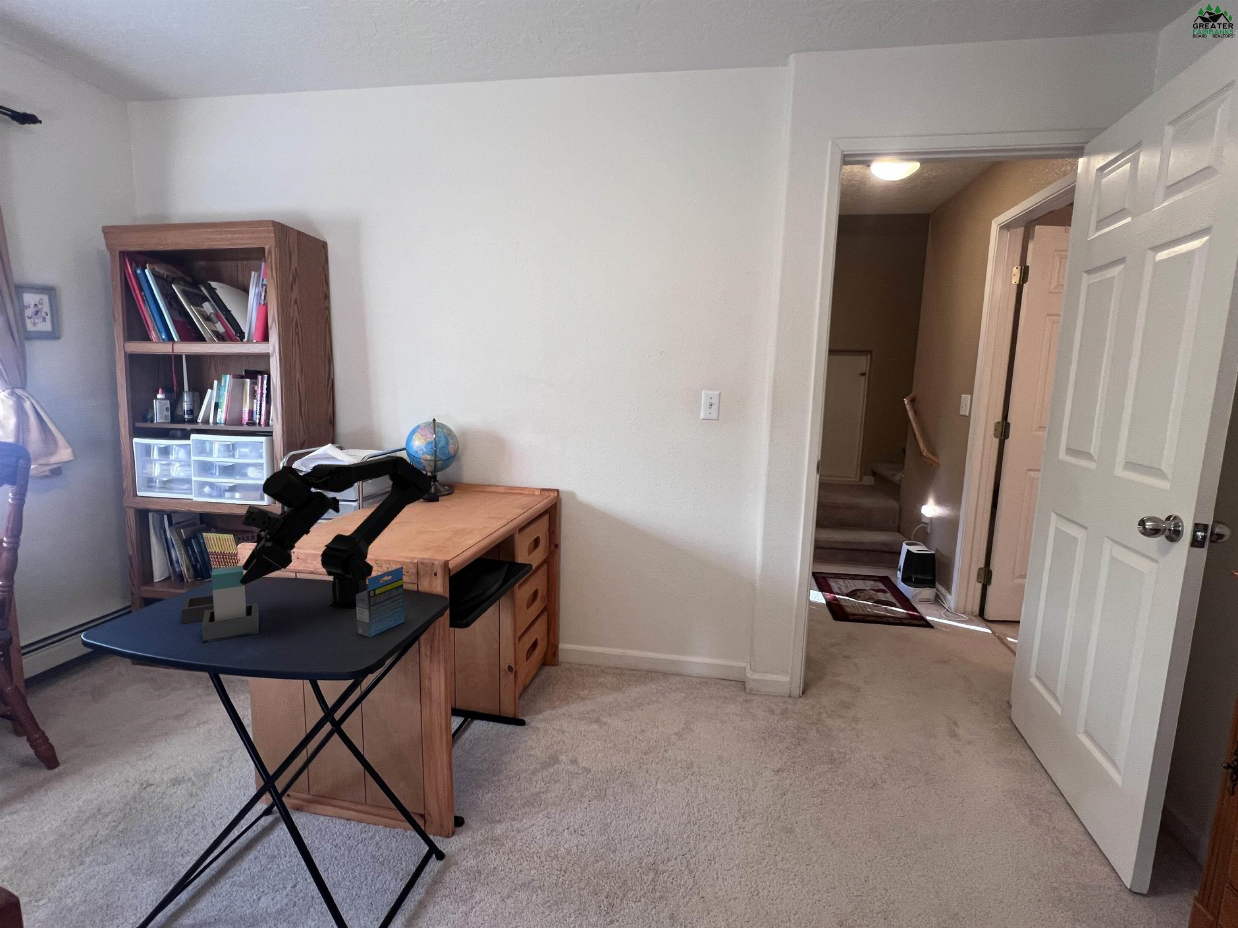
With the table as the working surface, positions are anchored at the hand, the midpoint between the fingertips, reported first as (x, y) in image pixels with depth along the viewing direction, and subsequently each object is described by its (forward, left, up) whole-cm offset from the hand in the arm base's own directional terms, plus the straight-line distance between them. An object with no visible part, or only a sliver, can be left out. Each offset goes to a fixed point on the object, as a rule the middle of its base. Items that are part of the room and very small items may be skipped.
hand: (242, 576), depth 115 cm
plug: (+2, +2, -10) cm, 11 cm away
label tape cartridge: (-26, -5, -11) cm, 29 cm away
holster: (+13, -4, -11) cm, 17 cm away
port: (+2, +2, -11) cm, 11 cm away
